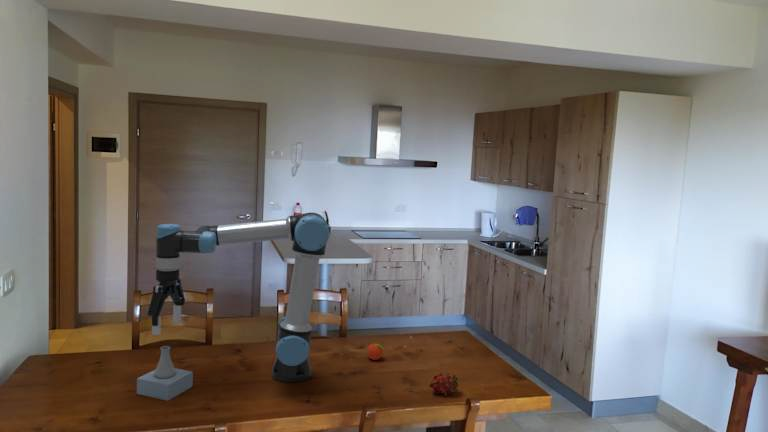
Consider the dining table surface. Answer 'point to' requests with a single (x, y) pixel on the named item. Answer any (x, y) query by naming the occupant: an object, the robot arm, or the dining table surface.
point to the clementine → (374, 351)
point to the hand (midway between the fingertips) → (166, 328)
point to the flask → (165, 364)
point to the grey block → (164, 384)
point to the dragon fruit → (444, 383)
